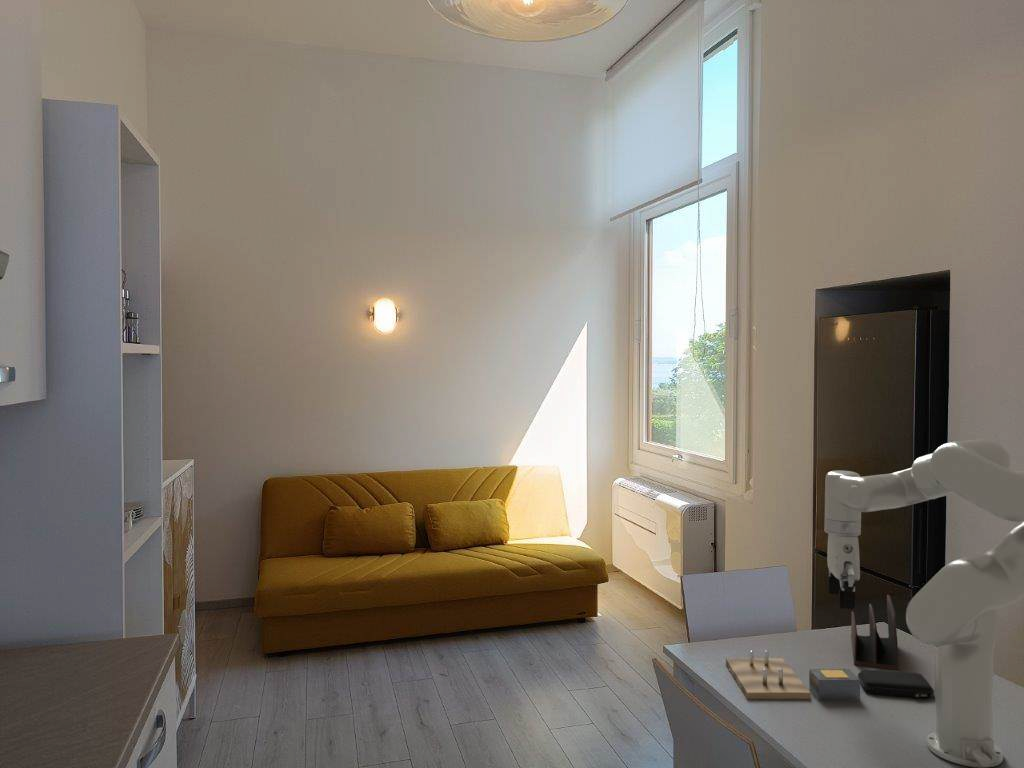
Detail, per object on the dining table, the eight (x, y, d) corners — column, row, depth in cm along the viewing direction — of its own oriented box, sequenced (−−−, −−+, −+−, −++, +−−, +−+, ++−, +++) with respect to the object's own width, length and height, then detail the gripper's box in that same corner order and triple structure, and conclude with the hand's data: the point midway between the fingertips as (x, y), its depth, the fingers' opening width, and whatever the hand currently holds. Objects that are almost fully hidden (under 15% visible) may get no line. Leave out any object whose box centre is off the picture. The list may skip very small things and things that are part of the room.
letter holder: (891, 643, 202) (891, 590, 202) (898, 671, 184) (898, 613, 183) (850, 638, 206) (850, 587, 205) (853, 665, 187) (853, 609, 187)
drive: (849, 690, 173) (849, 668, 173) (860, 702, 167) (860, 679, 167) (809, 690, 174) (809, 668, 173) (819, 702, 168) (818, 679, 167)
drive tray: (810, 699, 169) (810, 677, 169) (747, 699, 169) (747, 677, 169) (782, 664, 189) (782, 644, 188) (725, 664, 189) (725, 644, 189)
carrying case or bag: (865, 698, 169) (938, 704, 166) (865, 684, 169) (938, 690, 166) (856, 679, 180) (924, 684, 176) (856, 666, 180) (924, 671, 176)
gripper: (871, 536, 160) (870, 615, 161) (849, 518, 177) (848, 589, 178) (834, 535, 162) (832, 613, 163) (816, 516, 179) (815, 587, 180)
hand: (841, 600), depth 170 cm, fingers open, 9 cm apart
